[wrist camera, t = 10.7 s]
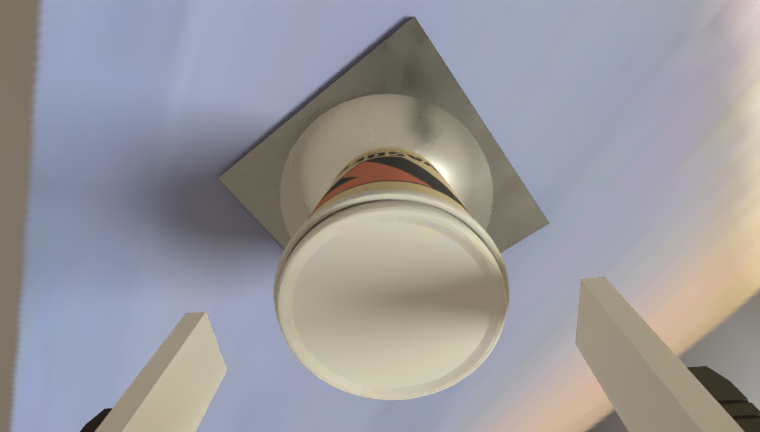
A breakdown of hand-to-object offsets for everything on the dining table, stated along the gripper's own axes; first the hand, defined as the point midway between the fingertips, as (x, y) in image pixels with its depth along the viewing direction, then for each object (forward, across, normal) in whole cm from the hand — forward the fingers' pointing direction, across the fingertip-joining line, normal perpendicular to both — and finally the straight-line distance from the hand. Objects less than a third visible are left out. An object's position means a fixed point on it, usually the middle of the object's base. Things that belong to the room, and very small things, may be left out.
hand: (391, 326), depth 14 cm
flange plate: (+14, 0, 0) cm, 14 cm away
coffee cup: (+13, 0, 0) cm, 13 cm away
